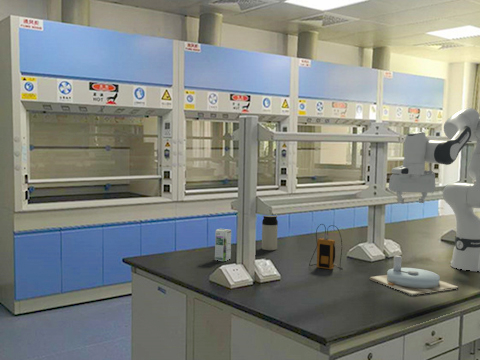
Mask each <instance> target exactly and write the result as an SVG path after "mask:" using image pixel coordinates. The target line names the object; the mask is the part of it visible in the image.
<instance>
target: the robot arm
mask: <svg viewBox="0 0 480 360" xmlns="http://www.w3.org/2000/svg"><path fill="white" fill-rule="evenodd" d="M443 131H444V134H445V136H446V137H447V139H449V140H431V139H429V138H427V136H426V132H424V131H411V132H409V133H407V134H406V136H405V138H404V144H403V155H404V157H403V161H402V165H399V166H396V167H393V168H391V175H390V177H389V180H388V189H389V191H390V192H394V193H396V196H397V198H398V203H400V204H401V203H405V198H403V196H402V195H403V193H421V196H420V198H418V203H420V204H424V203H425V199H426V197H427V196H428V193H432V194H433V193H434V192H435V191H436V173H435V172H433V171H432V170H425V169H426V168H425V167H426V164H441V165H445V166H447V165H451V164H453V162H455V161H456V159H457V158H458V156H459V153H460V152H461V151H462V149H463V148H464V147H465V146H466V145H467V143H472V142H476V146H475V148H474V150H473V152H472V155H471V157H470V160H469V163H468V166H467V169H466V171H467V175H468V176H469V177H470V178H471V179H472V180H474V181H475V182H474V183H473V182H451V183H447V184H446V185H445V187H444V188H443V191H442V197H443V200H444V202H445V203H446V204H448V205H449V207H450V208H451V209H452V211H453V213H454V215H455V222H456V233H455V234H456V235H455V236H454V244H455V246H454V247H453V251H452V256H451V257H452V258H451V260H450V261H449V263H450V266H451V267H452V268H454V269H456V268H457V269H458V270H460V269H462V270H461V271H466V270H470V271H469V272H477V271H479V273H480V216H478V215H476V214H475V213H474V212H473V208H474V209H480V113H479V112H478V111H477V110H476V109H475V108H472V107H466V108H462V109H461V110H459V111H457V112H455V113H454V114H453V115H451V116H450V117H449V118H447V120H446V121H445V122H444V124H443Z"/></svg>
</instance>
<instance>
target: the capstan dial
mask: <svg viewBox="0 0 480 360" xmlns="http://www.w3.org/2000/svg"><path fill="white" fill-rule="evenodd" d="M392 267H393V268H389V269H388V270H387V272H386V275H387V280H388V281H390V282H392V283H394V284H397V285H401V286H405V287H412V288H433V287H436V286H438V285H439V281H441V279H440V278H441V277H440V274H437V273H436V272H433V271H431V270H426V269H422V268H414V267H402V256H401V255H393V266H392Z"/></svg>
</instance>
